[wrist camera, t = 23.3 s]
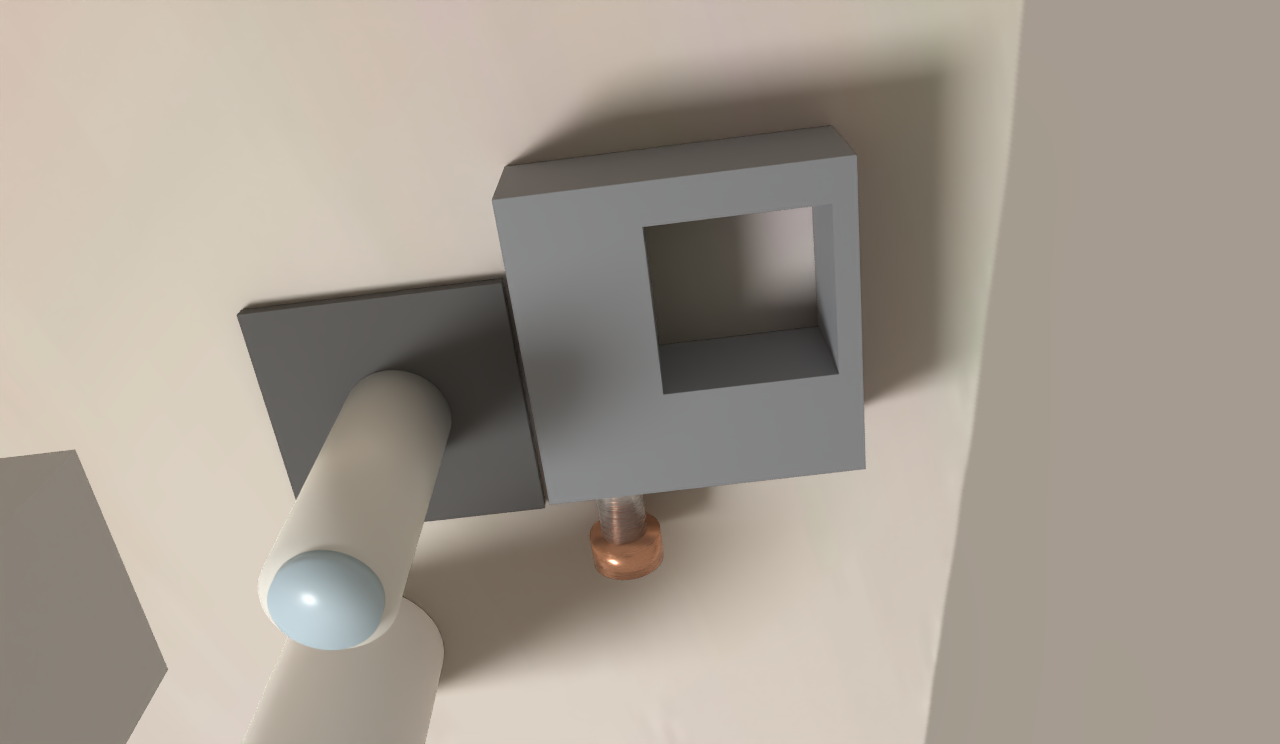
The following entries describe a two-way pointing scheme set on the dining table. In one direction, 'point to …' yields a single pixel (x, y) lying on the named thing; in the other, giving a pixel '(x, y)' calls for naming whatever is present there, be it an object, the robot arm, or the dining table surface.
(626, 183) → the frame
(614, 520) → the plunger
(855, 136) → the dining table surface
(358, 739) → the cup
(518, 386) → the mat
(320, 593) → the cylinder
